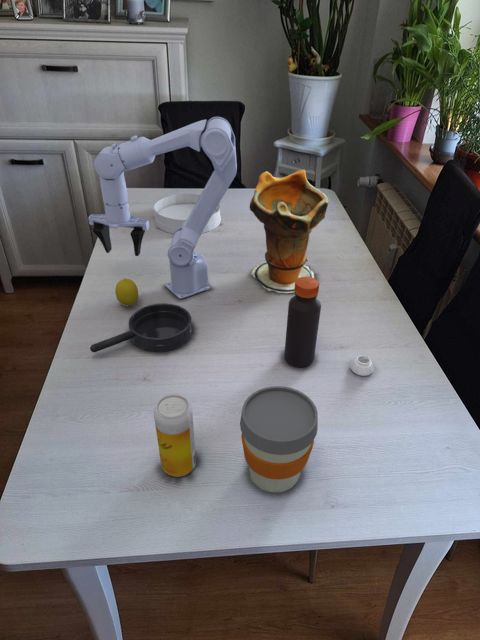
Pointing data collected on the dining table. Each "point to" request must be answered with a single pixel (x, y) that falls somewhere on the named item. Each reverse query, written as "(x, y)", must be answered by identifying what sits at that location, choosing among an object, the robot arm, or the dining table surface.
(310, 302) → the bottle
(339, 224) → the dining table surface
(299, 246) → the decorative vase
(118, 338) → the pan handle
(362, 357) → the lidless jar
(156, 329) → the pan
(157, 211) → the dish
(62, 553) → the dining table surface
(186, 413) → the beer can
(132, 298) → the lemon
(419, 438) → the dining table surface
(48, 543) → the dining table surface
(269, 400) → the reusable coffee cup
